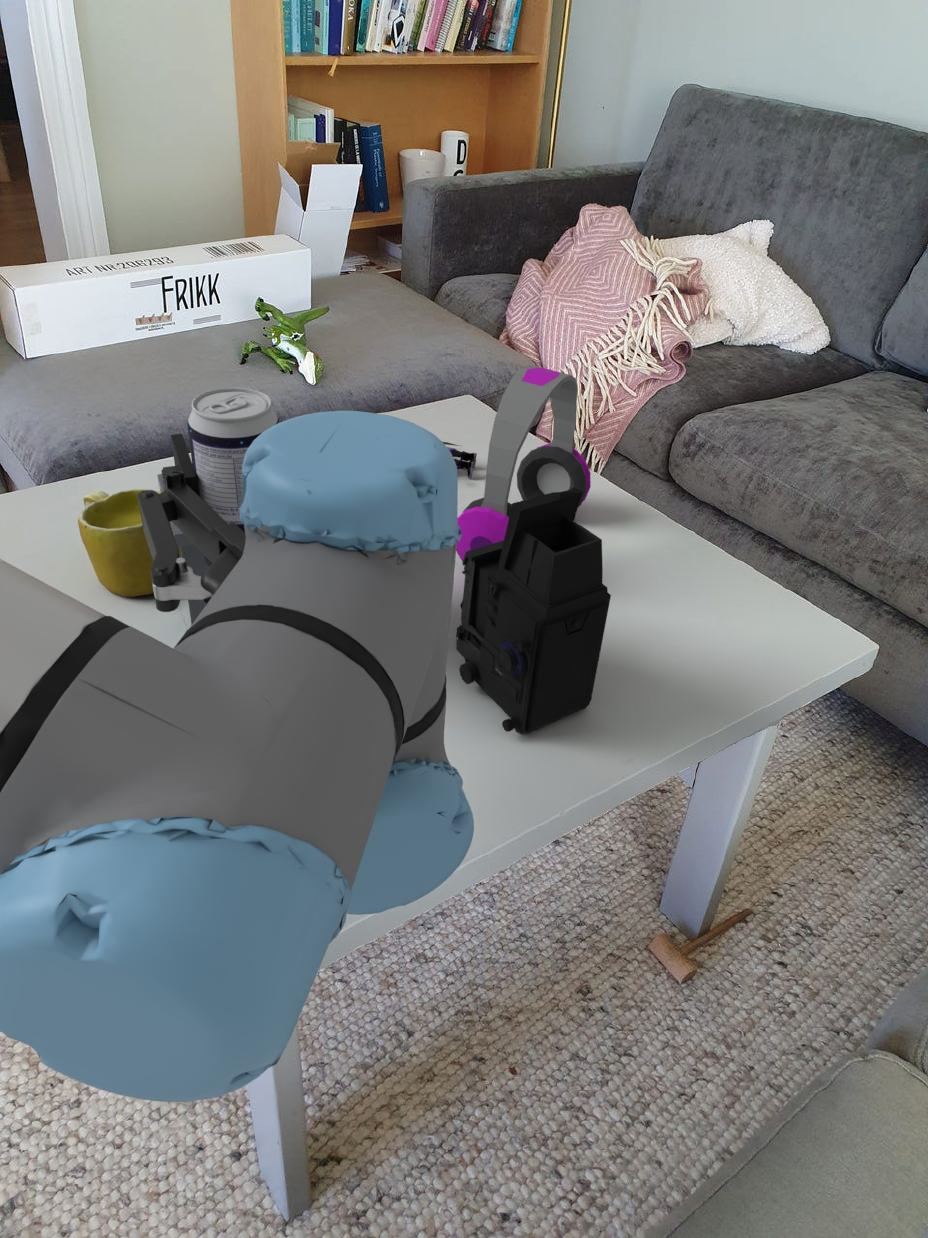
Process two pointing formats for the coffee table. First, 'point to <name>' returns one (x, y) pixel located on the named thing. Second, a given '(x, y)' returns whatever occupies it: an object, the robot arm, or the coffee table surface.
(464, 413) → the coffee table surface
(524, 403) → the headphones
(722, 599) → the coffee table surface
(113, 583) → the mug
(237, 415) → the beverage can
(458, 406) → the coffee table surface
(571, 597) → the camera
